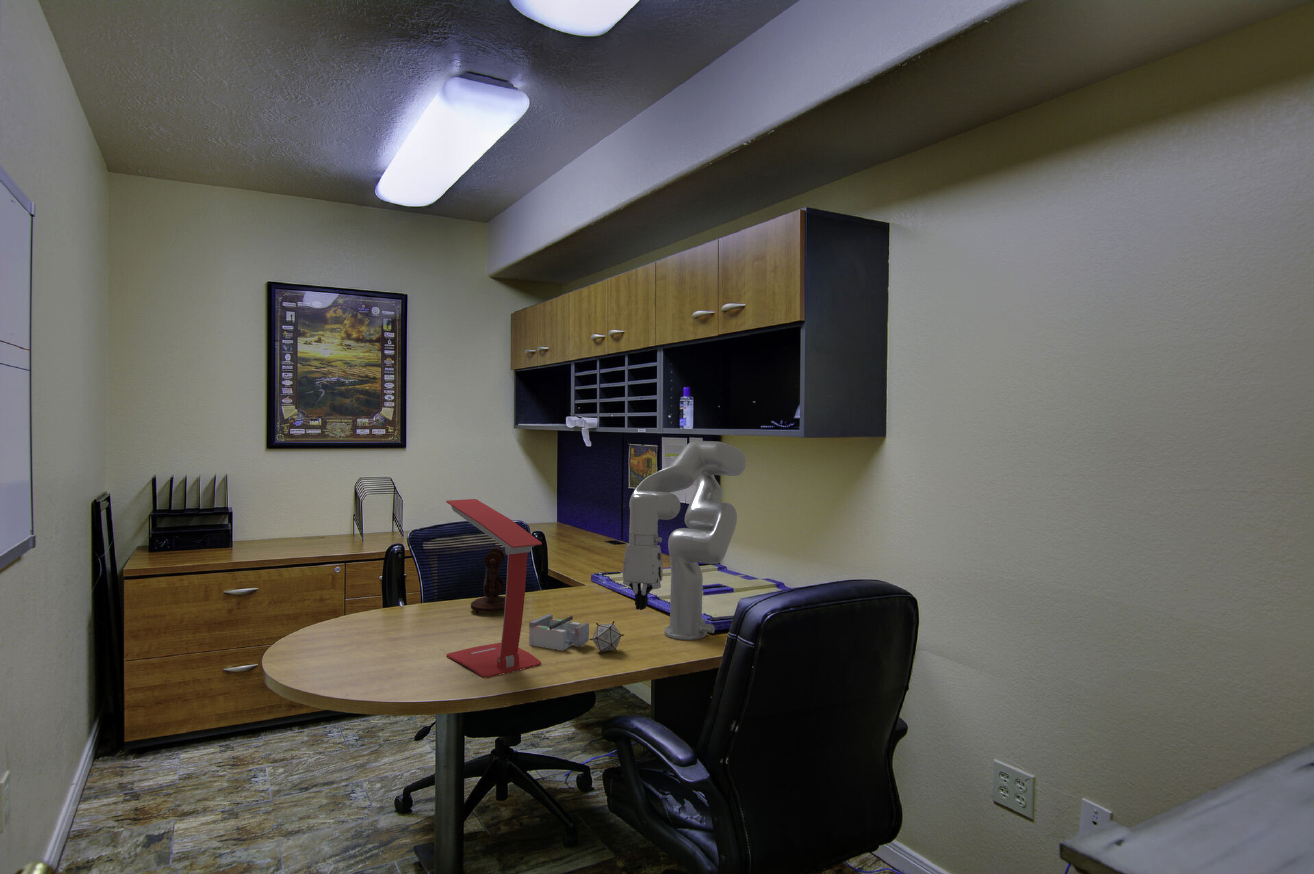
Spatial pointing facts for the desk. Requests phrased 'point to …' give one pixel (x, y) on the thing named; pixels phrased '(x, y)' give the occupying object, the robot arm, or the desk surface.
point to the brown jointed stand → (491, 585)
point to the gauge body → (550, 633)
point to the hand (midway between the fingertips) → (640, 608)
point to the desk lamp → (516, 547)
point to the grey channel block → (574, 632)
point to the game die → (606, 637)
